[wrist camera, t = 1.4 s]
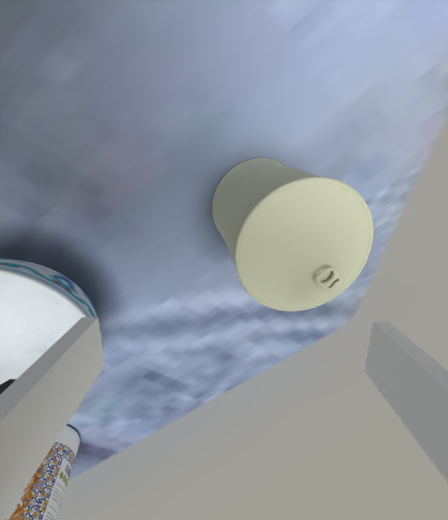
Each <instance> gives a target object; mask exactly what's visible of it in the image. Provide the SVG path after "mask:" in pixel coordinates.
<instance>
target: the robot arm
mask: <svg viewBox="0 0 448 520" xmlns="http://www.w3.org/2000/svg"><path fill="white" fill-rule="evenodd" d="M103 368H104V361H103V352H102V344H101V336H100V328H99V320H98V318H95V317H82V318H81V319H80V320H79V321H78V322H77V323H76V324H75V325H73V326H72V327H71V328H70V329H69V330H68V331H67V332H66V333H65V334H64V335H63V336H62V337H61V338H60V339H59V340H58V341H57V342H55V343H54V344H53V345H52V346H51V347H50V348H49V349H48V350H47V351H46V352H45V353H44V354H43V355H42V356H41V357H40V358H39V359H37V360H36V361H35V362H34V363H33V364H32V365H31V366H30V367H29V368H28V369H27V370H26V371H25V372H24V373H23V374H22V375H21V376H19V377H18V378H17V379H9V380H7V381H6V382H4V383H2V384H1V385H0V520H5V518H6V517H7V515H8V514H9V512H10V511H11V509H12V507H13V506H14V504H15V503H16V501H17V500H18V498H19V497H20V495H21V494H22V492H23V491H24V489H25V488H26V486H27V485H28V483H29V481H30V480H31V478H32V477H33V475H34V474H35V472H36V471H37V469H38V468H39V466H40V465H41V463H42V462H43V460H44V458H45V457H46V455H47V454H48V452H49V451H50V449H51V448H52V446H53V445H54V443H55V442H56V440H57V439H58V437H59V436H60V434H61V432H62V431H63V429H64V428H65V426H66V425H67V423H68V422H69V420H70V419H71V417H72V416H73V414H74V413H75V411H76V410H77V408H78V406H79V405H80V403H81V402H82V400H83V399H84V397H85V396H86V394H87V393H88V391H89V390H90V388H91V387H92V385H93V384H94V382H95V380H96V379H97V377H98V376H99V374H100V373H101V371H102V370H103ZM365 372H366V373H367V375H368V376H369V377H370V379H371V380H372V382H373V383H374V384H375V386H376V387H377V388H378V390H379V391H380V392H381V394H382V395H383V396H384V398H385V399H386V400H387V402H388V403H389V404H390V406H391V407H392V408H393V410H394V411H395V412H396V414H397V415H398V417H399V418H400V419H401V421H402V422H403V423H404V425H405V426H406V427H407V429H408V430H409V431H410V432H411V434H412V435H413V437H414V438H415V439H416V441H417V442H418V443H419V445H420V446H421V447H422V449H423V450H424V452H425V453H426V454H427V456H428V457H429V458H430V459H431V461H432V462H433V463H434V465H435V466H436V467H437V469H438V470H439V472H440V473H441V474H442V476H443V477H444V478H445V480H446V481H447V482H448V371H447V370H446V369H445V368H443V367H442V366H441V365H440V364H439V363H438V362H436V361H435V360H434V359H433V358H432V357H431V356H429V355H428V354H427V353H426V352H424V351H423V350H422V349H421V348H420V347H419V346H417V345H416V344H415V343H414V342H413V341H412V340H410V339H409V338H408V337H407V336H406V335H405V334H403V333H402V332H401V331H400V330H399V329H397V328H396V327H395V326H394V325H393V324H391V323H390V322H382V321H379V322H378V321H374V322H373V325H372V331H371V336H370V342H369V347H368V353H367V359H366V364H365Z"/></svg>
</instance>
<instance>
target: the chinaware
mask: <svg viewBox="0 0 448 520" xmlns="http://www.w3.org/2000/svg"><path fill="white" fill-rule="evenodd" d="M82 317H95V318H98V316H97V313H96V311H95V309H94V307H93V305H92V303H91V301H90V300H89V298H88V297H87V296H86V294H85V293H84V292H83V291H82V290H81V289H80V288H79V287H78V286H77V285H76V284H75V283H74V282H72V281H71V280H70V279H68V278H67V277H65V276H64V275H62V274H60V273H59V272H57V271H55V270H52V269H50V268H48V267H45V266H42V265H39V264H36V263H32V262H27V261H21V260H13V259H0V385H1V384H2V383H4V382H6V381H7V380H9V379H17V378H18V377H19V376H21V375H22V374H23V373H24V372H25V371H26V370H27V369H28V368H29V367H30V366H31V365H32V364H33V363H34V362H35V361H36V360H37V359H39V358H40V357H41V356H42V355H43V354H44V353H45V352H46V351H47V350H48V349H49V348H50V347H51V346H52V345H53V344H54V343H55V342H57V341H58V340H59V339H60V338H61V337H62V336H63V335H64V334H65V333H66V332H67V331H68V330H69V329H70V328H71V327H72V326H73V325H75V324H76V323H77V322H78V321H79V320H80V319H81V318H82ZM98 320H99V319H98ZM99 328H100V336H101V344H102V332H101V326H100V322H99Z"/></svg>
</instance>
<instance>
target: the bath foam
mask: <svg viewBox="0 0 448 520" xmlns="http://www.w3.org/2000/svg"><path fill="white" fill-rule="evenodd" d="M79 443H80V438H79V435H78V433H77V432H76V431H75V430H74V429H73V428H71V427H69V426H67V425H66V426H65V428H64V429H63V431H62V432H61V434H60V436H59V437H58V439H57V440H56V442H55V443H54V445H53V446H52V448H51V449H50V451H49V452H48V454H47V455H46V457H45V458H44V460H43V462H42V463H41V465H40V466H39V468H38V469H37V471H36V472H35V474H34V475H33V477H32V478H31V480H30V481H29V483H28V485H27V486H26V488H25V489H24V491H23V492H22V494H21V495H20V497H19V498H18V500H17V501H16V503H15V504H14V506H13V507H12V509H11V511H10V512H9V514H8V515H7V517H6V518H5V520H56V519H57V516H58V513H59V509H60V506H61V503H62V499H63V496H64V493H65V490H66V487H67V483H68V480H69V477H70V474H71V470H72V467H73V464H74V461H75V457H76V454H77V450H78V447H79Z"/></svg>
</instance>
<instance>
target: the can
mask: <svg viewBox="0 0 448 520" xmlns="http://www.w3.org/2000/svg"><path fill="white" fill-rule="evenodd" d="M212 213H213V219H214V222H215V225H216V227H217V229H218V231H219V232H220V234H221V235H222V236H223V239H224V241H225V243H226V245H227V248H228V250H229V252H230V255H231V257H232V259H233V262H234V264H235V267H236V271H237V275H238V278H239V280H240V282H241V284H242V286H243V287H244V289H245V290H246V291H247V292H248V294H249V295H250V296H251V297H252V298H254V299H255V300H256V301H258V302H259V303H261V304H263V305H265V306H267V307H270V308H272V309H276V310H281V311H300V310H306V309H310V308H314V307H317V306H319V305H322V304H324V303H326V302H328V301H330V300H331V299H333V298H335V297H336V296H338V295H339V294H340V293H342V292H343V291H344V290H345V289H346V288H347V287H348V286H349V285H350V284H351V283H352V282H353V281H354V280H355V279H356V278H357V276H358V275H359V273H360V272H361V270H362V269H363V267H364V265H365V263H366V261H367V259H368V257H369V254H370V251H371V247H372V242H373V221H372V216H371V213H370V210H369V208H368V206H367V204H366V202H365V201H364V199H363V198H362V197H361V195H360V194H359V193H358V192H357V191H356V190H355V189H353V188H352V187H351V186H349V185H347V184H346V183H344V182H342V181H339V180H336V179H333V178H328V177H320V176H317V175H313V174H310V173H306V172H303V171H300V170H297V169H294V168H291V167H288V166H285V165H284V164H282V163H280V162H278V161H276V160H272V159H268V158H255V159H250V160H247V161H244V162H242V163H240V164H238V165H236V166H235V167H233V168H232V169H231V170H230V171H228V172H227V173H226V174H225V176H224V177H223V178H222V179H221V181H220V183H219V184H218V186H217V188H216V191H215V193H214V197H213V203H212Z"/></svg>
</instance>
